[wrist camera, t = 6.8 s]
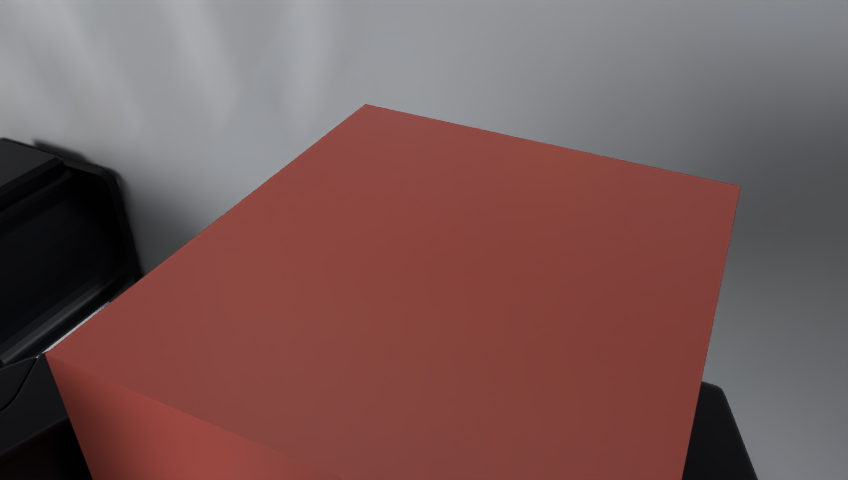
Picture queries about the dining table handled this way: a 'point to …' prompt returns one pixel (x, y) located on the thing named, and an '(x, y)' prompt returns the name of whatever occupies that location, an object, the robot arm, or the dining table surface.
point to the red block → (415, 320)
